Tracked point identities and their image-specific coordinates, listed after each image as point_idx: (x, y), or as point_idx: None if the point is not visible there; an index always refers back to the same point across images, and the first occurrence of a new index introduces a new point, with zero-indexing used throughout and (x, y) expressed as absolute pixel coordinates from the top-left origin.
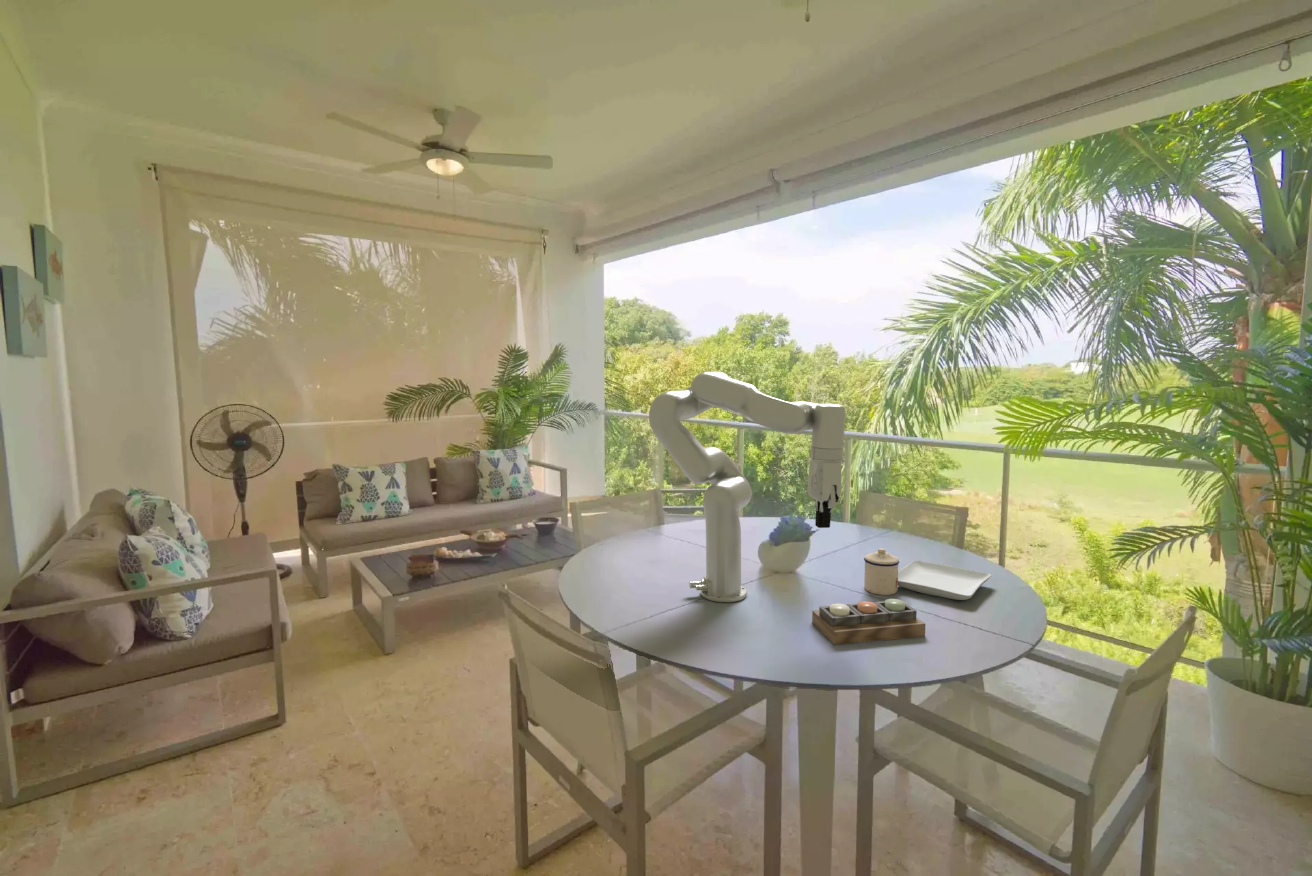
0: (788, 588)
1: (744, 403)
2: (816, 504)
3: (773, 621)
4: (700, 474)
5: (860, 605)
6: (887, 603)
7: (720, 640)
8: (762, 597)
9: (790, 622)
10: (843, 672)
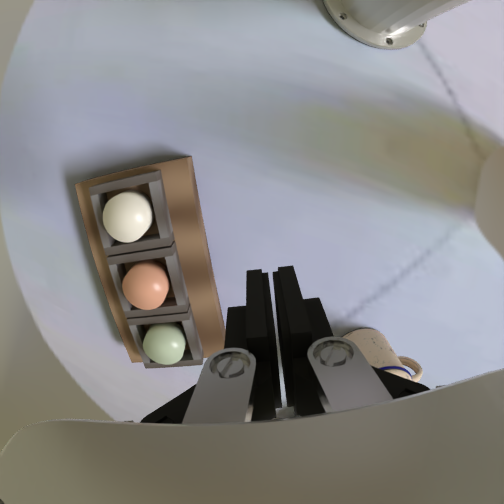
0: (404, 161)
1: None
2: (348, 375)
3: (203, 67)
4: None
5: (137, 272)
6: (155, 332)
7: None
8: (355, 77)
9: (195, 105)
10: (9, 172)
